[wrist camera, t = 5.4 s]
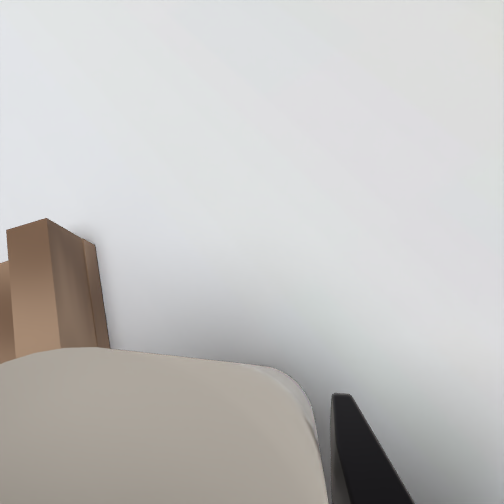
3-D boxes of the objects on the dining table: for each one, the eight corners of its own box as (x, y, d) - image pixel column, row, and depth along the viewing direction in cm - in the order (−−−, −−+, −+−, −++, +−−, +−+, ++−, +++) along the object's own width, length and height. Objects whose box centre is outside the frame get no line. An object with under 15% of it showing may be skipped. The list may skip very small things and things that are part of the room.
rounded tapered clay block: (340, 419, 15) (491, 646, 3) (264, 519, 14) (12, 1397, 2) (250, 341, 16) (70, 250, 4) (177, 431, 16) (-308, 658, 3)
